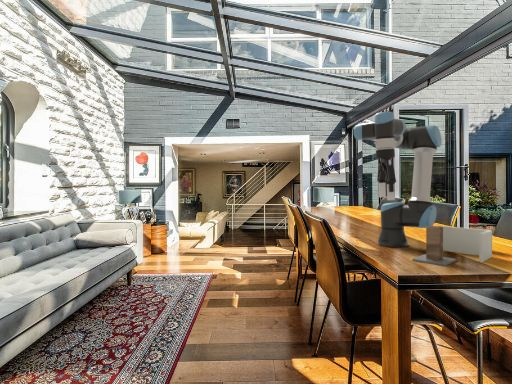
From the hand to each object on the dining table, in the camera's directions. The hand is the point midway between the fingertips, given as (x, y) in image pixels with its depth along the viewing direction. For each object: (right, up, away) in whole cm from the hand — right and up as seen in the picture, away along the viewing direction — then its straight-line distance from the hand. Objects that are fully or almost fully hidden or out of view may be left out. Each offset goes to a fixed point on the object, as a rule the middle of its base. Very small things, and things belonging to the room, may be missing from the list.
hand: (386, 198), depth 138 cm
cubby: (+37, -27, +10) cm, 47 cm away
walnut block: (+22, -26, +2) cm, 34 cm away
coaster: (+21, -27, +1) cm, 35 cm away
